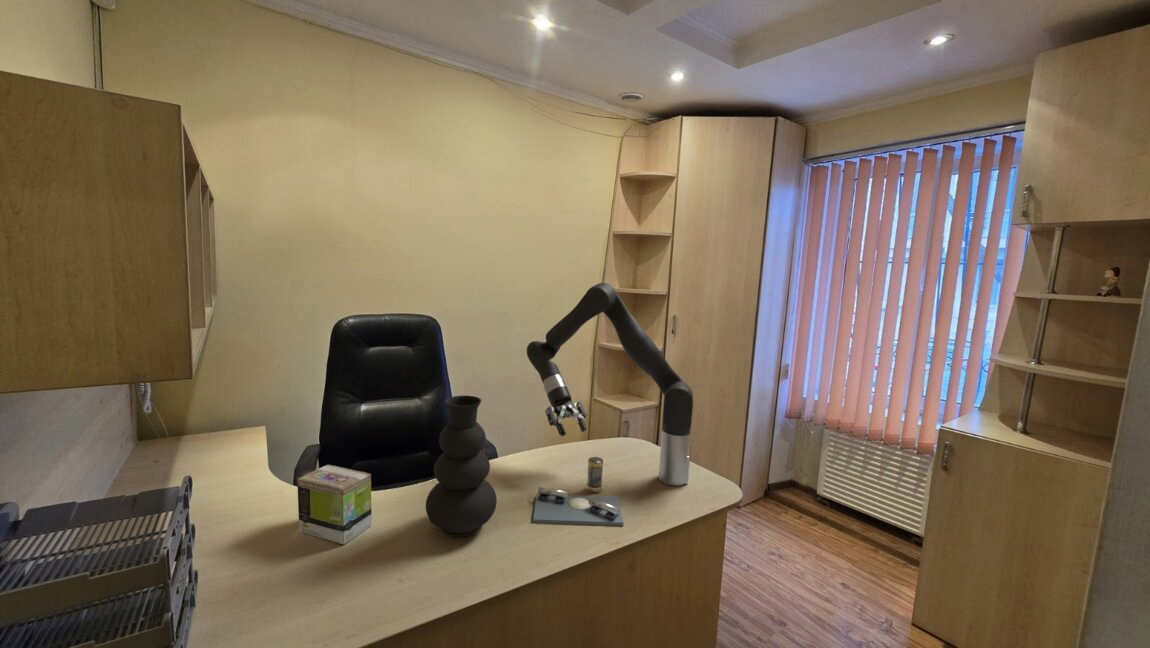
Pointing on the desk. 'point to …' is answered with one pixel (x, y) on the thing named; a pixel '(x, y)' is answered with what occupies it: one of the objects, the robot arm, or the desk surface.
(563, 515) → the board
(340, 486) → the tea box
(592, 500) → the shaft
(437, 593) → the desk surface
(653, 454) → the desk surface
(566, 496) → the shaft
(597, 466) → the banded tin drum
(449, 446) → the vase
